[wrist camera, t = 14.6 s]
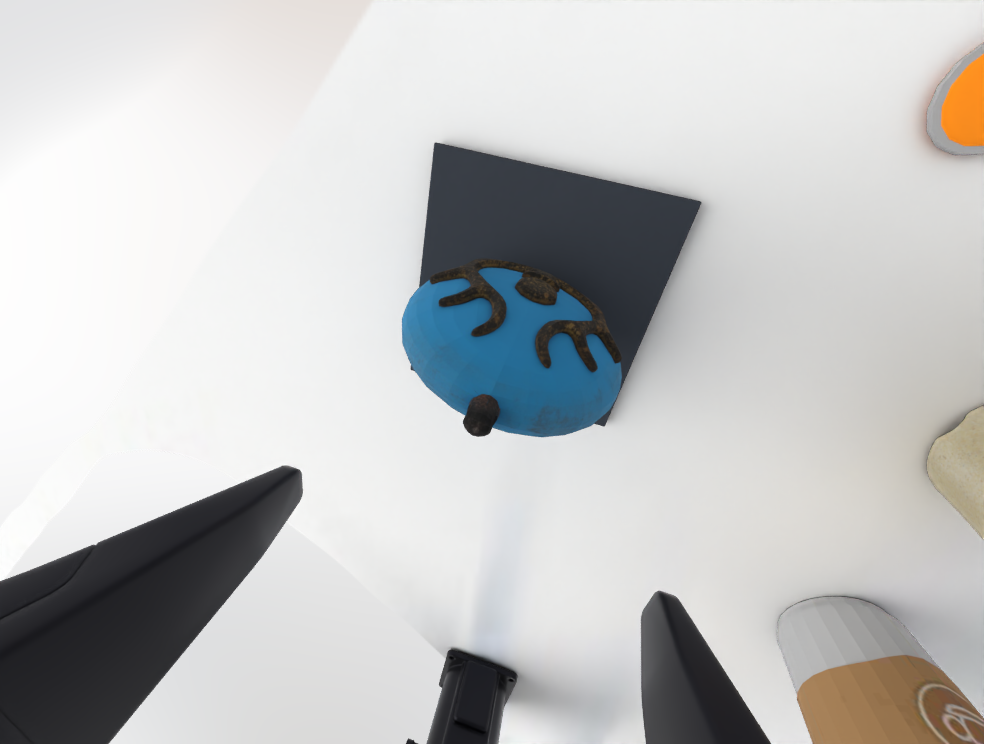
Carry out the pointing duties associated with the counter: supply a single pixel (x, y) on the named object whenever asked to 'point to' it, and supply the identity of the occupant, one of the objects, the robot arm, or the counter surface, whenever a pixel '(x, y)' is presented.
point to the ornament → (512, 349)
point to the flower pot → (961, 468)
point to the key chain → (960, 107)
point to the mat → (558, 233)
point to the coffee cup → (869, 678)
